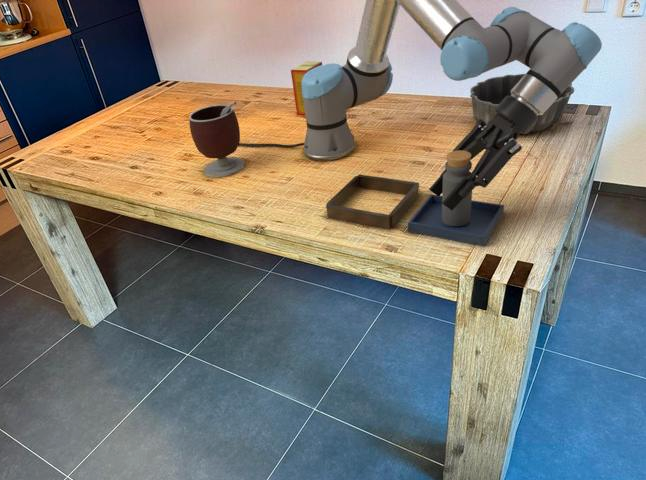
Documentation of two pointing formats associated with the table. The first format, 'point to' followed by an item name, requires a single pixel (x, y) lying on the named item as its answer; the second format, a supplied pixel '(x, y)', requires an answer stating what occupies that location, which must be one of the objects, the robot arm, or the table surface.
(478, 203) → the tray
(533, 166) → the table surface
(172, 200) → the table surface
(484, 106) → the bundt pan
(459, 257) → the table surface
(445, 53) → the robot arm
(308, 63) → the baking soda box
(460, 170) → the bottle
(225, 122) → the mate gourd
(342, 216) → the dark brown square frame
